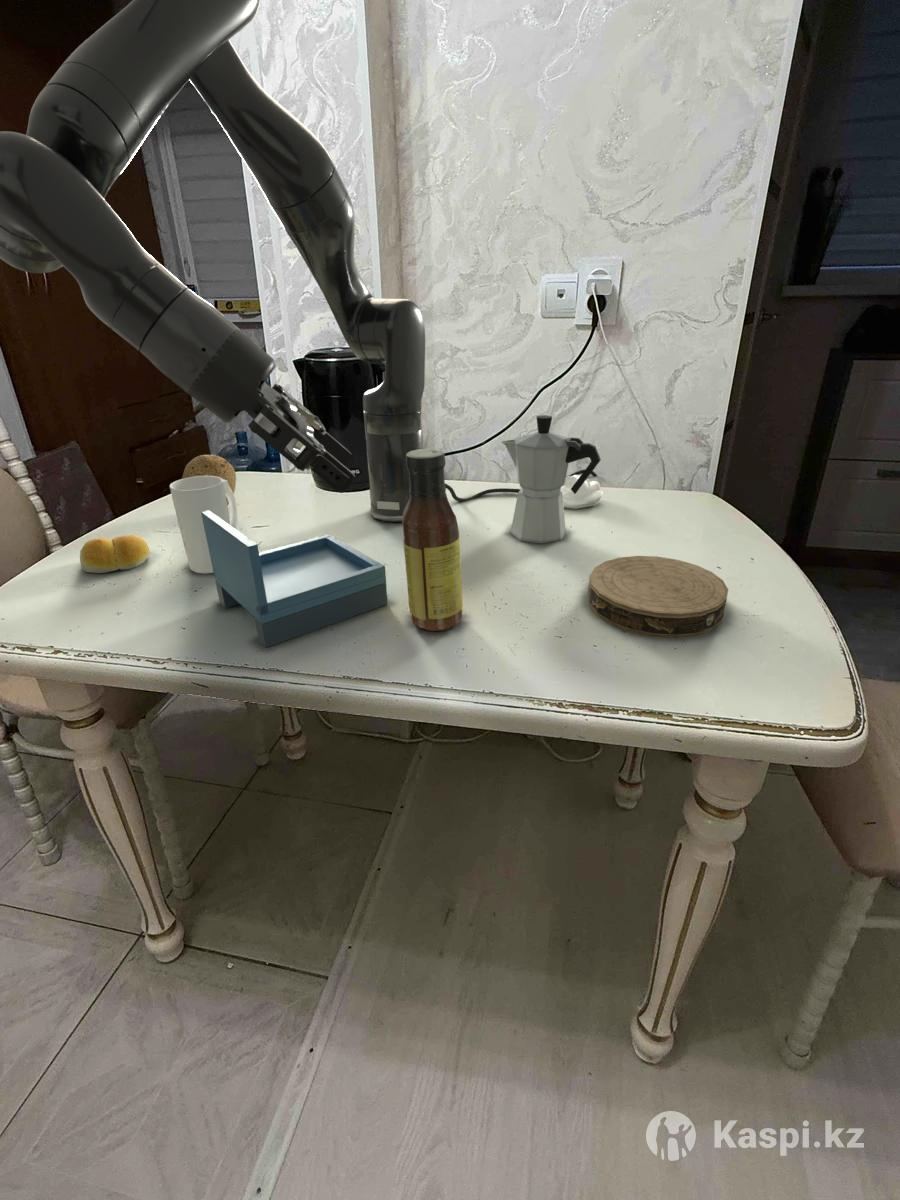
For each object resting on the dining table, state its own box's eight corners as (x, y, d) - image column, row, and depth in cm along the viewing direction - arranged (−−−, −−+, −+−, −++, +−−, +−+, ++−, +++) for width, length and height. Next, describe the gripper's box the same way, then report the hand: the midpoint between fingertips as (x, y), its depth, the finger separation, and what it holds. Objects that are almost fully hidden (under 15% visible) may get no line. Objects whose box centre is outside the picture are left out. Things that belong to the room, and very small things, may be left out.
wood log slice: (560, 599, 78) (562, 577, 76) (641, 566, 86) (644, 546, 85) (670, 653, 66) (674, 628, 65) (750, 608, 75) (755, 586, 73)
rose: (614, 474, 111) (590, 487, 104) (612, 498, 113) (588, 513, 106) (564, 465, 116) (537, 477, 109) (562, 488, 118) (536, 502, 111)
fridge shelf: (332, 568, 87) (323, 485, 81) (387, 604, 77) (381, 512, 72) (219, 602, 78) (200, 511, 73) (266, 648, 68) (248, 546, 63)
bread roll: (154, 566, 89) (147, 540, 87) (83, 579, 85) (74, 552, 83) (149, 546, 95) (143, 522, 93) (83, 558, 91) (75, 532, 90)
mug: (216, 577, 85) (198, 492, 79) (177, 571, 87) (157, 487, 81) (261, 550, 93) (248, 471, 88) (225, 545, 95) (210, 467, 90)
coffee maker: (490, 537, 96) (492, 418, 88) (507, 519, 104) (510, 407, 95) (587, 550, 91) (598, 425, 83) (597, 530, 99) (609, 413, 90)
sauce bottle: (469, 612, 75) (469, 447, 66) (452, 637, 70) (450, 462, 61) (418, 604, 77) (412, 443, 68) (398, 628, 72) (388, 457, 63)
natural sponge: (191, 524, 104) (178, 464, 99) (183, 509, 111) (170, 453, 106) (246, 514, 108) (236, 457, 103) (235, 500, 115) (225, 446, 110)
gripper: (223, 331, 50) (377, 464, 57) (243, 320, 62) (367, 431, 69) (168, 403, 51) (324, 523, 58) (198, 379, 64) (324, 480, 71)
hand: (347, 473), depth 64 cm, fingers open, 8 cm apart
